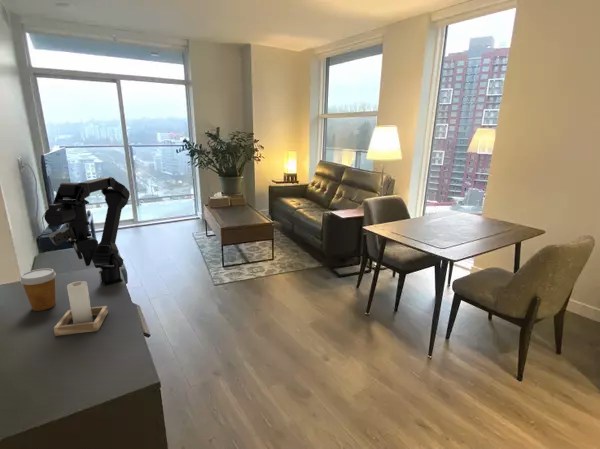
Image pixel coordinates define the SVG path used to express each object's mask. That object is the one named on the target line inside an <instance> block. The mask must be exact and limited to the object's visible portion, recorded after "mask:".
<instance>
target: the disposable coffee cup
mask: <svg viewBox="0 0 600 449" xmlns="http://www.w3.org/2000/svg"><path fill="white" fill-rule="evenodd" d="M56 275H57V272H55V270H54V269H53V268H38V269H33V270H30V271H26V272H24V273H22V274H21V275H20V278H19V282H20V283H21V284H22V286H23V289H24V291H25V293H26V296H27V300H28V302H29V304H30V306H31V308H32V310H33V311H38V312H40V311H45V310H48V309H50V308H53V307H54V306H55V305H56Z"/></svg>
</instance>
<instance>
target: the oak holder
mask: <svg viewBox="0 0 600 449" xmlns="http://www.w3.org/2000/svg"><path fill="white" fill-rule="evenodd" d="M108 309H109V308H108V305H101V306H93V307H91V312H92V317H93V316H94V317H95V316H96V318H95V319H94V320H93V322H88V323H80V324H73V323H72V324H69V323H70V321H72V320H73V319H72V313H71V309H68V310H67V311H66V312H65V313H64V315H63V316H62V317H61V319H59V321H58V322H57V324H56V325H55V326H54V327H53V332H54V337H57V336H66V335H73V334H81V333H88V332H97V331H99V329H100V327H101V326H102V324H103V322H104V321H105V319H106V317H107V315H108V313H109V310H108Z"/></svg>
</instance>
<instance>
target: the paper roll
mask: <svg viewBox="0 0 600 449" xmlns="http://www.w3.org/2000/svg"><path fill="white" fill-rule="evenodd" d="M66 288H67V294H68V299H69V307H70V310H71V313H72V319H71V320H72V324H80V323H88V322H94V319H93V316H92V312H91V301H90V300H91V299H90V294H89V287H88V282H87V281H85V280H78V281H73V282H71V283H69V284H67V285H66Z"/></svg>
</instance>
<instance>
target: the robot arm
mask: <svg viewBox="0 0 600 449" xmlns="http://www.w3.org/2000/svg"><path fill="white" fill-rule="evenodd" d="M98 191H100V192H101V194H102V195H104V201H105V204H106V206H107V209H106V210H107V211H106V214H105V215H106V216H105V220H104V225H103V230H102V234H101V240H100V242H99V241H98V240H97V238H94V237H93V236H92V233H91V232H90V227H89V226H90V223H91V222H90V221H88V214H87V207H86V206H87V205H89V204H90V202H89V201H88V200H87V199H86V198H89V197H90V194H92V193H94V192H98ZM130 193H131V192H130V190H129V189H128V188H127V187H126V186H125V185H124V184H123V183H120V182H119V181H117V180H116V179H115V178H114V177H112V176H100V177H98V178H93V179H89V180H85V181H82V182H81V181H80V182H74V181H73V182H71V181H70V182H67V181H66V182H65V181H64V182H61V183H60V184H59V187H58V189H57V191H56V193H55V197H54V200H53V202H52V204H49V205H48V208H49V209H47V210H46V211H45V212H44V217H43V219H44V221H45V222H46V224H47V225H49V226H51V227H54V228H55V227H59V226H62V225H65V227H63V228H60V229H57V230H56V231H54V232H51V233H49V234H48V237H49V239H50V241H51V242H52V243H53V244H54V245H55V246H59V245H61V244H62V243H64V242H65V241H66V242H67V243H68V244H69V245H71V246H72V248H73V249H74V251H75V254H76V256H77V258H78V259H79V260H83V262H84V265H85V267H89V266H90V265H91V263H92V264H93V266H94V267H95V269H99V271H98V275H99V276H98V277H99V282H101V283H102V284H103V285H104V286H107V285H111V284H116V283H119V282H123V278H122V277H121V275H122V274H121V269H120V268H122V267H123V265H124V258H123V257H121V256H120V255H119V249H118V247H117V245H116V242H117V236H118V231H119V225H120V221H121V215H122V210H123V209H124V207H126V206H127V204H128V202H129V199H130V197H131V194H130Z"/></svg>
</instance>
